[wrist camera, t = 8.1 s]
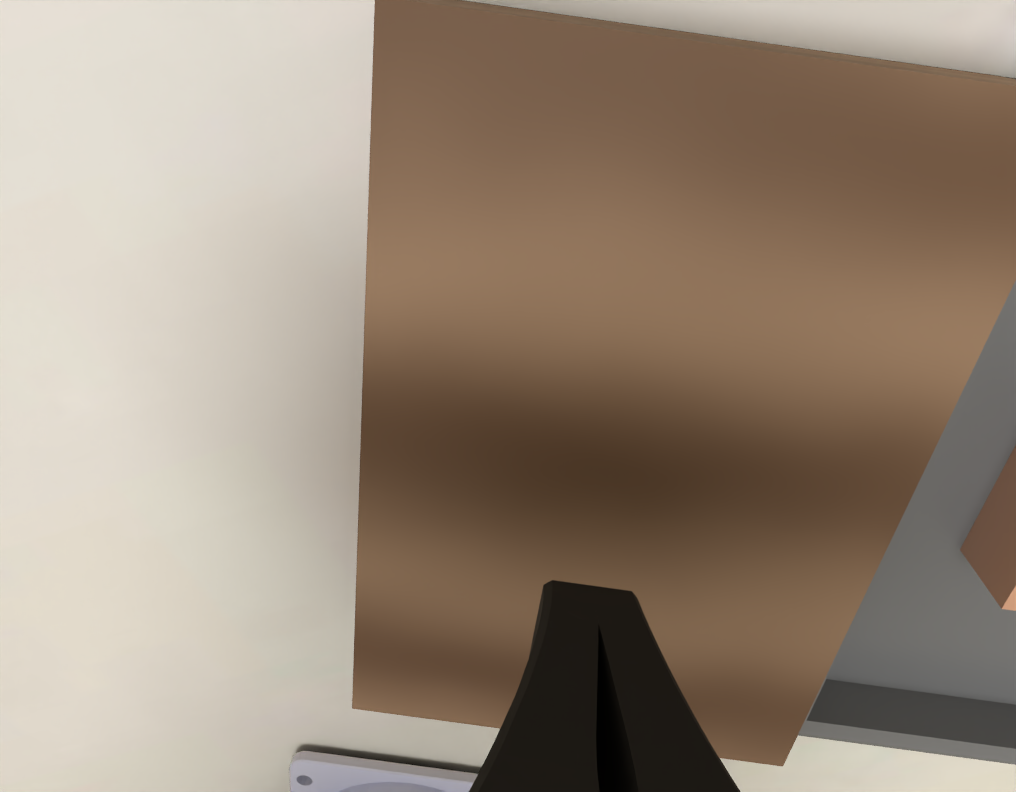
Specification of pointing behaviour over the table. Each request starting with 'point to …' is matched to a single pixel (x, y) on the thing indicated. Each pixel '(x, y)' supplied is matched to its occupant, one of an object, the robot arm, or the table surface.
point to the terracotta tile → (996, 539)
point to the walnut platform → (656, 345)
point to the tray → (937, 598)
